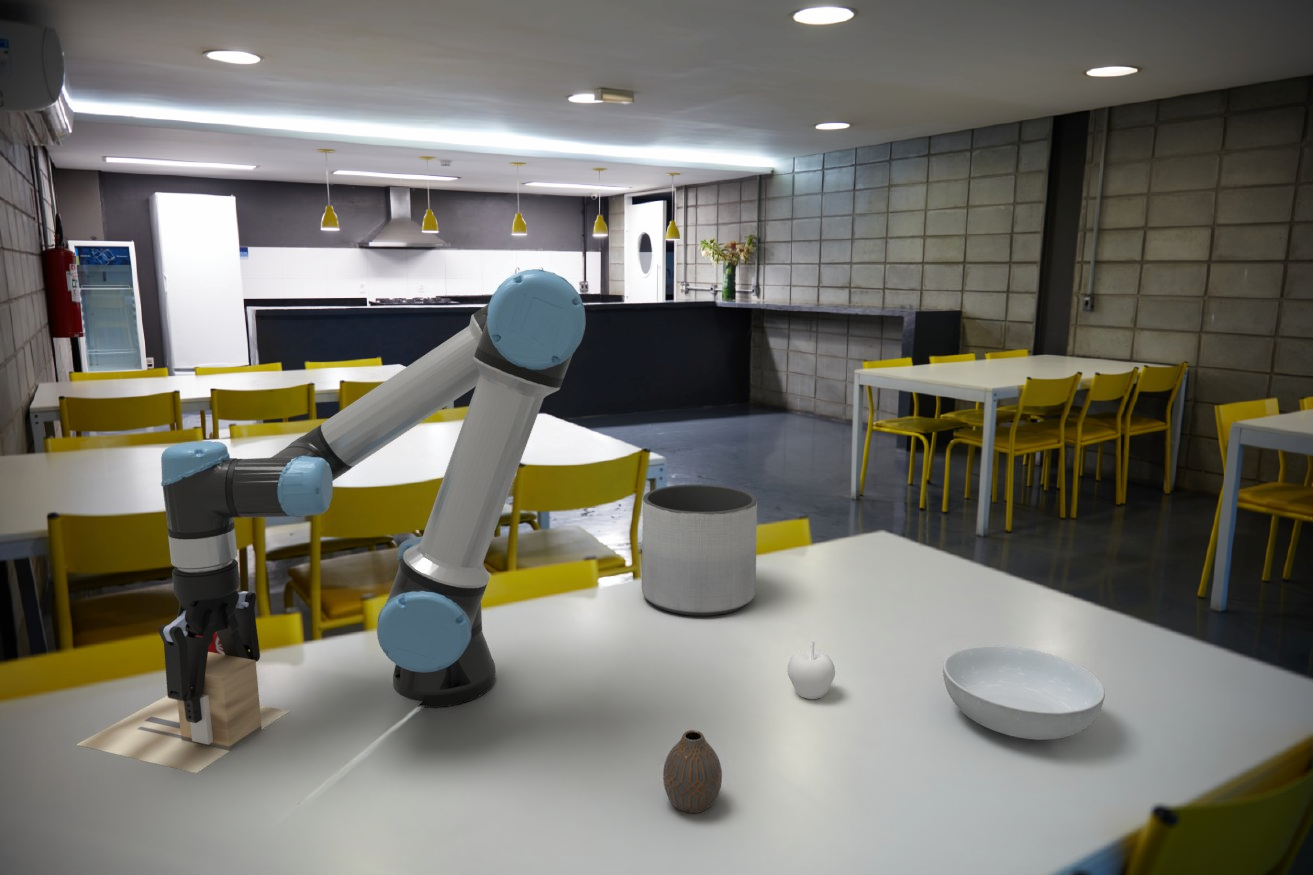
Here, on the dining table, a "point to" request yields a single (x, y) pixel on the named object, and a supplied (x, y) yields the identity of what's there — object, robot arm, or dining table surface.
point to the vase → (692, 773)
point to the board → (163, 737)
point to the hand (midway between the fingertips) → (221, 728)
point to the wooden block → (228, 701)
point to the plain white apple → (811, 673)
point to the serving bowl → (1023, 691)
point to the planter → (699, 549)
